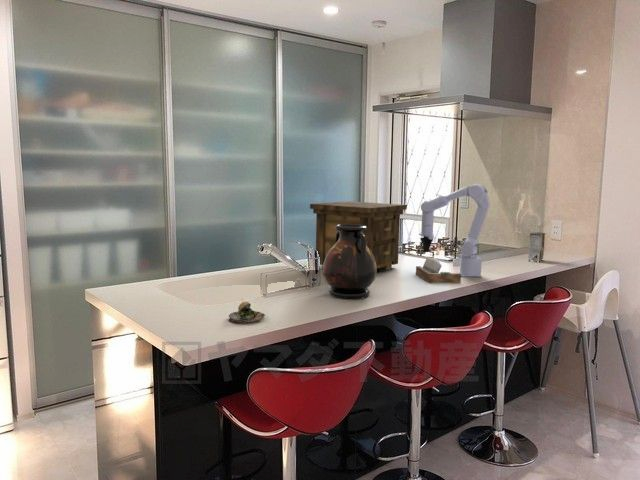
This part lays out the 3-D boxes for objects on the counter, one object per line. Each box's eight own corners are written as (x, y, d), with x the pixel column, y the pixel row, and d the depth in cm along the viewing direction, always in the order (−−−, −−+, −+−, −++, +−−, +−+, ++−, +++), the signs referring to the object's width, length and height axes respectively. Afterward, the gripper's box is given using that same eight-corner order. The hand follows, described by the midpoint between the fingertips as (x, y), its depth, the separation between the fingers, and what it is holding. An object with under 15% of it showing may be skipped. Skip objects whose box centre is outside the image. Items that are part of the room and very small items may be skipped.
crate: (348, 260, 294) (349, 201, 289) (404, 268, 273) (406, 204, 268) (309, 268, 266) (310, 203, 262) (368, 278, 245) (370, 208, 241)
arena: (445, 274, 258) (446, 264, 258) (460, 282, 239) (461, 272, 239) (415, 274, 257) (416, 264, 256) (428, 282, 237) (429, 272, 237)
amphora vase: (387, 297, 208) (389, 227, 205) (342, 304, 197) (344, 229, 193) (355, 286, 226) (356, 222, 223) (312, 292, 215) (313, 224, 211)
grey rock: (436, 278, 252) (446, 261, 254) (421, 268, 253) (431, 251, 255) (432, 280, 260) (442, 264, 262) (417, 271, 261) (427, 255, 263)
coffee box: (531, 259, 308) (533, 231, 306) (543, 260, 305) (545, 232, 302) (527, 261, 301) (529, 233, 299) (539, 262, 297) (541, 234, 295)
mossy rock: (234, 327, 167) (234, 304, 166) (224, 317, 177) (224, 295, 176) (270, 323, 172) (270, 300, 171) (258, 314, 182) (258, 292, 181)
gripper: (415, 223, 271) (414, 249, 273) (424, 226, 257) (422, 254, 259) (428, 223, 272) (427, 249, 274) (438, 226, 258) (436, 254, 259)
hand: (426, 251), depth 266 cm, fingers closed
